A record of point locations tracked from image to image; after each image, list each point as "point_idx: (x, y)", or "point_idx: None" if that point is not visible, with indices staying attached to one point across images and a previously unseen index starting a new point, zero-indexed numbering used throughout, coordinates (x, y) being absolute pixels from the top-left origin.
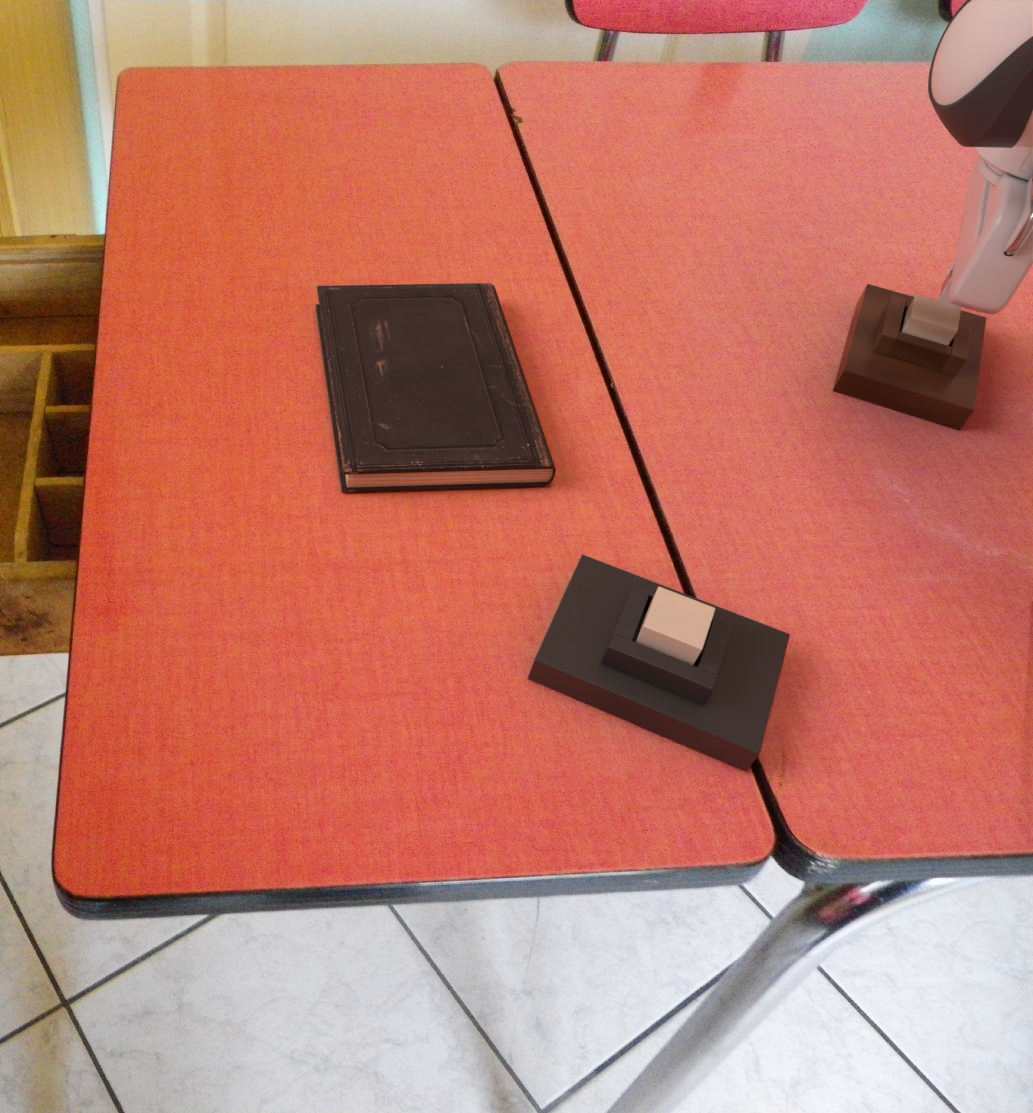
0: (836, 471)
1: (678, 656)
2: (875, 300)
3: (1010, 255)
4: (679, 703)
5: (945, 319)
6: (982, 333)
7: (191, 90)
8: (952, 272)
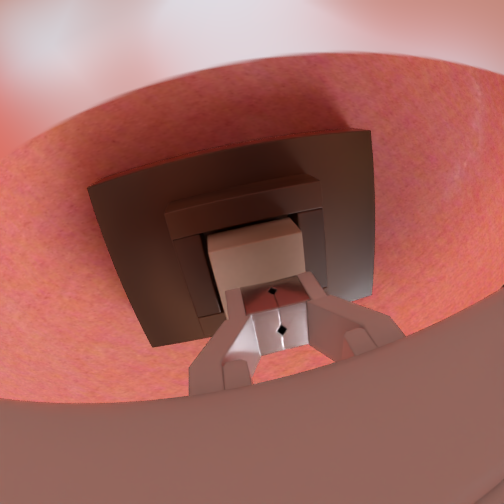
0: (456, 227)
1: None
2: (184, 329)
3: (404, 360)
4: None
5: (278, 261)
6: (140, 174)
7: None
8: (265, 351)
